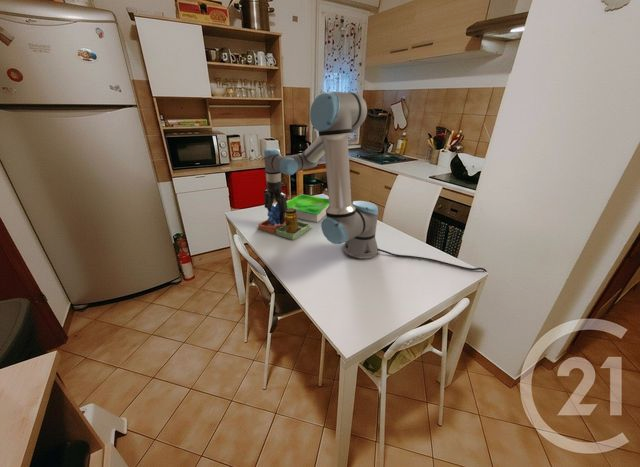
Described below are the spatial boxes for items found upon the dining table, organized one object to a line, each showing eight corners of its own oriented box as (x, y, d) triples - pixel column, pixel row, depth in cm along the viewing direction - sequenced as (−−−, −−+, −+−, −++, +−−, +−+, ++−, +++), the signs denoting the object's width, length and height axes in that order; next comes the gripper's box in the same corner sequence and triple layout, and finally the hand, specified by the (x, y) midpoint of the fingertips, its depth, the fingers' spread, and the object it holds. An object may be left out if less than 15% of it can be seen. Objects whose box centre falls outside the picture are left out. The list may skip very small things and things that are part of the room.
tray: (300, 201, 177) (300, 193, 174) (334, 207, 167) (334, 200, 165) (279, 214, 157) (279, 206, 155) (317, 222, 147) (317, 214, 145)
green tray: (310, 228, 140) (310, 224, 139) (293, 240, 129) (292, 235, 128) (293, 223, 146) (293, 219, 144) (275, 234, 134) (275, 229, 133)
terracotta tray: (292, 223, 146) (292, 219, 145) (274, 233, 135) (274, 229, 134) (277, 218, 151) (277, 214, 150) (258, 228, 140) (258, 224, 139)
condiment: (282, 232, 135) (281, 210, 130) (291, 225, 142) (290, 205, 136) (294, 235, 132) (293, 213, 127) (303, 228, 139) (302, 207, 133)
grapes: (283, 219, 149) (281, 198, 144) (289, 222, 144) (288, 202, 139) (264, 224, 142) (262, 203, 137) (270, 228, 138) (268, 207, 132)
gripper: (293, 182, 130) (295, 223, 141) (264, 176, 140) (268, 215, 150) (284, 186, 125) (286, 229, 135) (254, 179, 134) (258, 220, 145)
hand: (276, 222), depth 143 cm, fingers closed on grapes, 7 cm apart
